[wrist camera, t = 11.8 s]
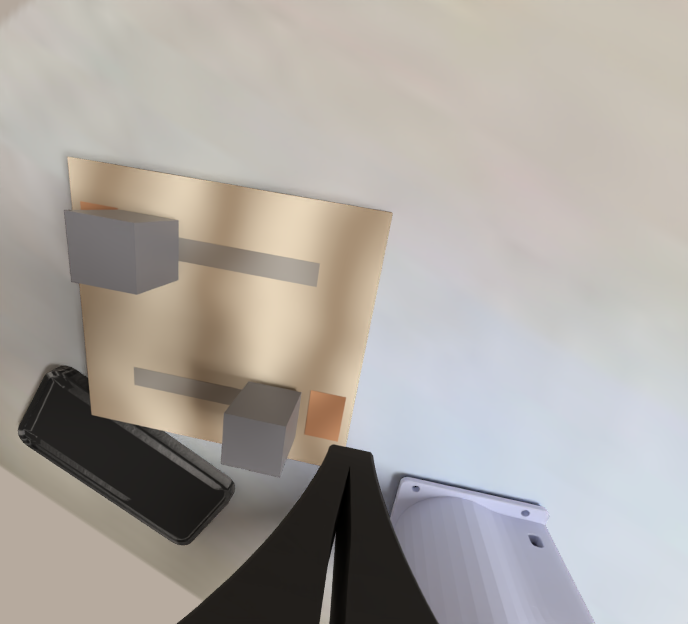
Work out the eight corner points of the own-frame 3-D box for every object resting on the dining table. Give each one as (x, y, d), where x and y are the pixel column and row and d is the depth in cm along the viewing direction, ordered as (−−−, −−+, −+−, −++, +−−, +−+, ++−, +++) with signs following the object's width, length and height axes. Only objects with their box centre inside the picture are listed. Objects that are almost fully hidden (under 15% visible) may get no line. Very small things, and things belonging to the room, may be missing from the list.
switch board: (391, 212, 17) (392, 213, 15) (344, 447, 22) (340, 470, 20) (100, 162, 18) (66, 156, 16) (115, 397, 23) (91, 415, 21)
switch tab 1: (178, 220, 16) (134, 223, 13) (178, 280, 17) (137, 294, 14) (120, 209, 16) (64, 209, 13) (123, 269, 17) (71, 281, 14)
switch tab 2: (301, 392, 18) (286, 426, 15) (295, 436, 19) (279, 477, 16) (248, 381, 18) (223, 413, 15) (245, 426, 19) (220, 464, 16)
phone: (50, 364, 22) (236, 494, 23) (66, 357, 23) (242, 481, 24) (13, 437, 24) (183, 551, 26) (28, 427, 25) (191, 537, 27)
